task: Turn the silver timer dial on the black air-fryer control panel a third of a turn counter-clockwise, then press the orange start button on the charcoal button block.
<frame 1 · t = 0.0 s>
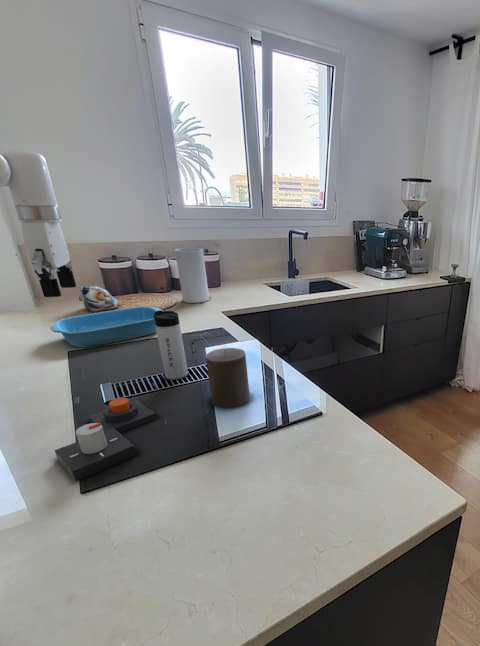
hand: (61, 291, 93), 28 cm above the counter, tool pointing down, fingers open, 9 cm apart
cylinder vase: (196, 300, 200), on the counter
travel mug: (176, 377, 117), on the counter
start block: (124, 422, 94), on the counter
start button: (119, 405, 92), point 5 cm above the counter, slide at 0.2 cm
casserole dish: (115, 335, 149), on the counter
pillar candle: (231, 402, 105), on the counter
timer dial: (91, 437, 78), point 5 cm above the counter, hinge at 0.0°
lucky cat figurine: (103, 309, 180), on the counter
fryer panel: (98, 459, 81), on the counter
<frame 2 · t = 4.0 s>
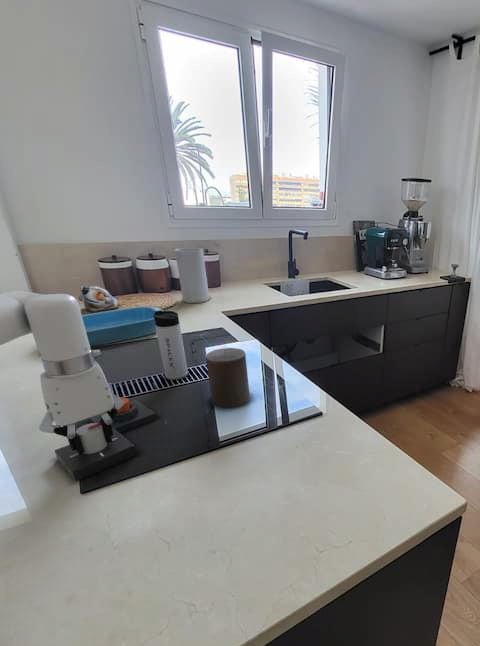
hand: (93, 444, 79), 4 cm above the counter, tool pointing down, fingers closed on timer dial, 4 cm apart
timer dial: (91, 437, 78), point 5 cm above the counter, hinge at 0.1°, touching gripper
everything else where it was.
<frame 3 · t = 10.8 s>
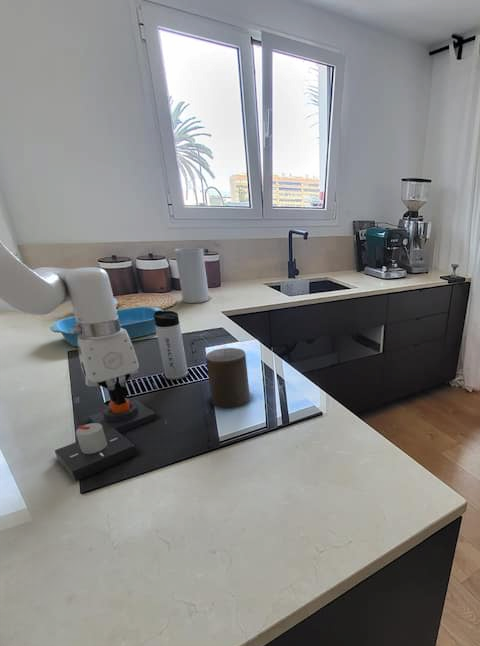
hand: (119, 401, 92), 6 cm above the counter, tool pointing down, fingers closed
start button: (119, 405, 92), point 5 cm above the counter, slide at 0.1 cm, touching gripper
timer dial: (91, 437, 78), point 5 cm above the counter, hinge at 119.9°
everything else where it was.
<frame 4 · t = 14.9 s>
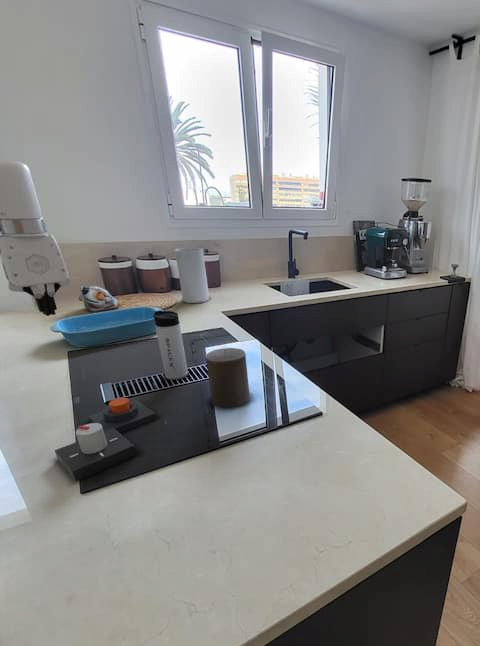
hand: (49, 314, 88), 25 cm above the counter, tool pointing down, fingers closed
start button: (119, 405, 92), point 5 cm above the counter, slide at 0.1 cm
everything else where it was.
at the end: timer dial at +120° (first picture: +0°); start button pushed in 1.1 cm at the most during the clip, back to where it started at the end; start button slide at 0.1 cm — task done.
